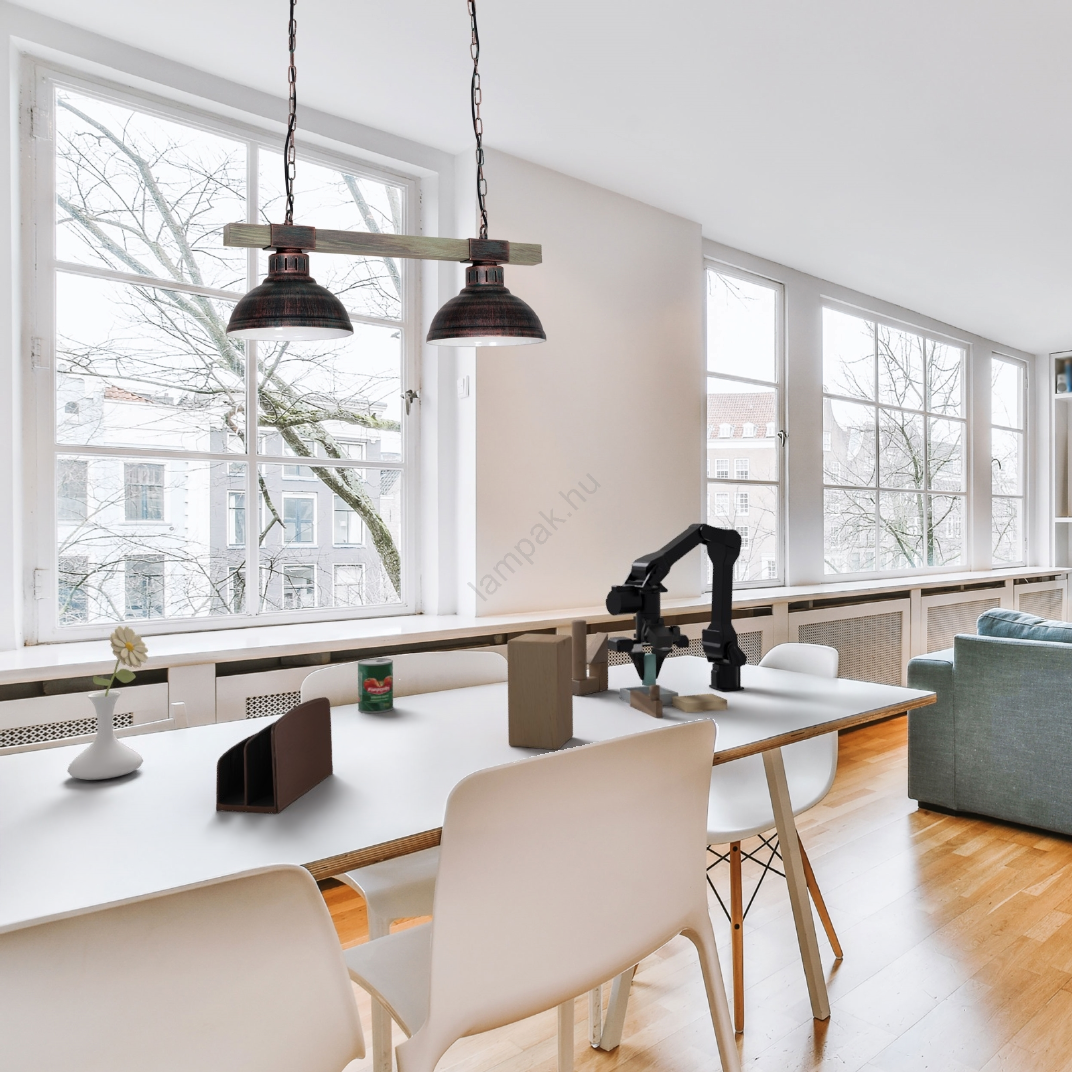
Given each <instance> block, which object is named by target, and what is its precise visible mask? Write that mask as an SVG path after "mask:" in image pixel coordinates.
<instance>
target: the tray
mask: <svg viewBox="0 0 1072 1072" xmlns="http://www.w3.org/2000/svg"><path fill="white" fill-rule="evenodd" d="M634 690H637V691H639V692H642V693H644V694H647V695H649V686H645V685H641V686H631V687H630V686H629V687H620V688H619V699H620V700H622V701H624V702H626V703H628V704H630V691H634ZM676 696H679V692H677V691H675V690H672V689H669V688H668V687H667V688H666V687H664V686H662V685H660V700H661V701H663V706H669V705H672V697H676Z"/></svg>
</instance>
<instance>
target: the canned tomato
mask: <svg viewBox="0 0 1072 1072" xmlns="http://www.w3.org/2000/svg"><path fill="white" fill-rule="evenodd" d="M393 662H394V659H392V658H387V657H386V658H385V657H384V658H383V657H375V658H374V657H373V658H365V659H360V660H358V661H357V696H358V697H357V700H358V701H357V705H358V706H357V711H358V712H360V713H363V714H380V713H381V714H382V713H386V712H390V711H392V710H393V709H394V670H393V669H394V664H393Z"/></svg>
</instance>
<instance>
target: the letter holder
mask: <svg viewBox="0 0 1072 1072" xmlns="http://www.w3.org/2000/svg"><path fill="white" fill-rule="evenodd" d="M332 738H333V737H332V715H331V701H330V699H329V698H327V697H326V696H323V697H322V696H321V697H317V698H313V699H309V700H307V701H305V702H302V703H301V704H298V705H297V706H294V707H293V708H292V709H290V710H289V711H287V712H286V713H284V714H283V715H281V717H279V718H278V719H276V721H273V722H272V723H270V724H269V725H267V726H265V727H264V728H262V729H261V730H259V731H258V732H256V733H254V734H252V735H250V736H247V737H246V738H244V739H242V740H241V741H239V742H237V743H236V744H235V745H233V746H231V747H230V748H229V749H227V751H225V752H224V753H222V755H221V756H219V758H218V760H217V762H216V763H217V764H216V788H215V789H216V791H215V795H216V800H215V801H216V802H215V803H216V804H215V810H216V811H217V812H230V813H231V812H232V813H234V812H235V813H253V814H271V815H272V814H273V815H275V814H276V815H278V814H279V813H280V812H282V811H283V810H284V809H286V808H287V807H288V806H289V805H291V804H293V803H294V802H295V801H297V800H298V799H299V798H301V797H302V796H303V795H305V794H306V793H308V792H309V791H311V790H312V789H313V788H314V787H316V786H317V785H319V784H320V783H321V782H322V781H324V780H326V779H327V778H328V777H329V776H331V775H333V773H334V767H333V766H334V765H333V739H332Z"/></svg>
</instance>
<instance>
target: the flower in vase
mask: <svg viewBox="0 0 1072 1072" xmlns="http://www.w3.org/2000/svg"><path fill="white" fill-rule="evenodd" d="M109 641H110V642H111V643H110V647H111V648H112V654H113V655H114V656H116V659H117V661H116V664H115V668H114V671H113V673H112V676H111V678H110V679H107V678H101V677H99V676H97V675H93V676H92V682H93V683H94V684H95V685H100V686H107V688H106V691H99V692H93V693H89V694H88V695H87V697H88V699H89V700H90V701H91V702H92V703H93V706H94V709H95V713H96V717H97V719H96V720H97V734H96V737H95V739H94V741H93V742H92V743H91V744H90V745H89V746H88V747H86V748H85V749H84V750H83V751H82V752H80V753H79V754H78V755H77V756H76V757H75V758H74V759H73V760H72V761H71V763H69V766H68V767H67V770H66V771H67V773H68V774H69V776H70V777H72V778H75V779H81V780H85V781H87V780H88V781H89V780H90V781H92V780H94V781H96V780H106V779H111V778H112V779H113V778H116V777H117V778H118V777H121V776H124V775H127V774H130V773H132V772H135V771H136V770H137V769H139V768H141V766H142V764H143V762H144V759H143V757H142V755H141V754H140V753H139V752H138V751H137V750H135V749H134V748H132V747H130V746H129V745H127V744H125V743H124V742H122V740H121V741H120V740H119V739H118V738H117V736H116V735H115V732H114V726H113V721H114V720H113V718H114V710H115V705H116V702H117V700H118V699H119V697H120V696H121V695H122V692H121V691H117V690H111V691H110V688H111V686H112V684H113V681H114V679H115V677H116V679H117V680H119V681H120V682H121V683H124V684H127V683H130V682H132V681H133V680H134V679H136V675H135V673H134V672H133V671H131V670H129V669H127V668H120V669H119V670H118V667H119V664H120V663H121V664H122V665H123V666H128V667H129V668H131V667H132V668H135V669H136V668H141V667H142V663H147V660H148V657H149V656H148V655H147V654H146V653H148V652H149V649H148V648H147V647H146V643H145V642H144V641H143V640H142V636H141V635H139V634H136V633H135V631H134V630H133V629H132V628H129V626H127V625H126V626H124V628H123V627H122V626H121V625H118V626H117V628H115V629H114V632H111V634H110V637H109Z"/></svg>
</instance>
